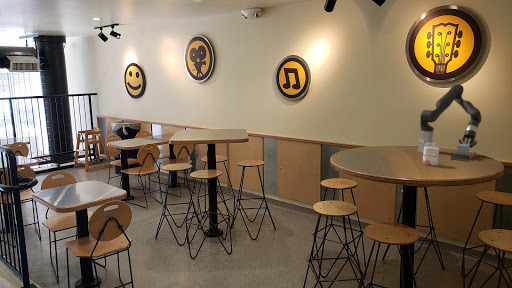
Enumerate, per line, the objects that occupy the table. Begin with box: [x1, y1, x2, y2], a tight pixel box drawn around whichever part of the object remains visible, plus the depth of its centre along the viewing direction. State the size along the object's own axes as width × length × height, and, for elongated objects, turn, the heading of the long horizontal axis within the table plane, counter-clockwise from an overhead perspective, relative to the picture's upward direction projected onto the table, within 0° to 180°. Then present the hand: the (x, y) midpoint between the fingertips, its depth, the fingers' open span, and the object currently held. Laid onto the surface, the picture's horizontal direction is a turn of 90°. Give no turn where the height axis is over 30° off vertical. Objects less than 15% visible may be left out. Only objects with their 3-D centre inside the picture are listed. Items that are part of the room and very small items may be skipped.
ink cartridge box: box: [422, 142, 440, 166], centre depth 260 cm, size 9×5×15 cm, turn 84°
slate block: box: [456, 143, 471, 155], centre depth 278 cm, size 8×6×9 cm
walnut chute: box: [450, 151, 478, 163], centre depth 282 cm, size 23×12×4 cm, turn 138°
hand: (465, 151), depth 282 cm, fingers closed
